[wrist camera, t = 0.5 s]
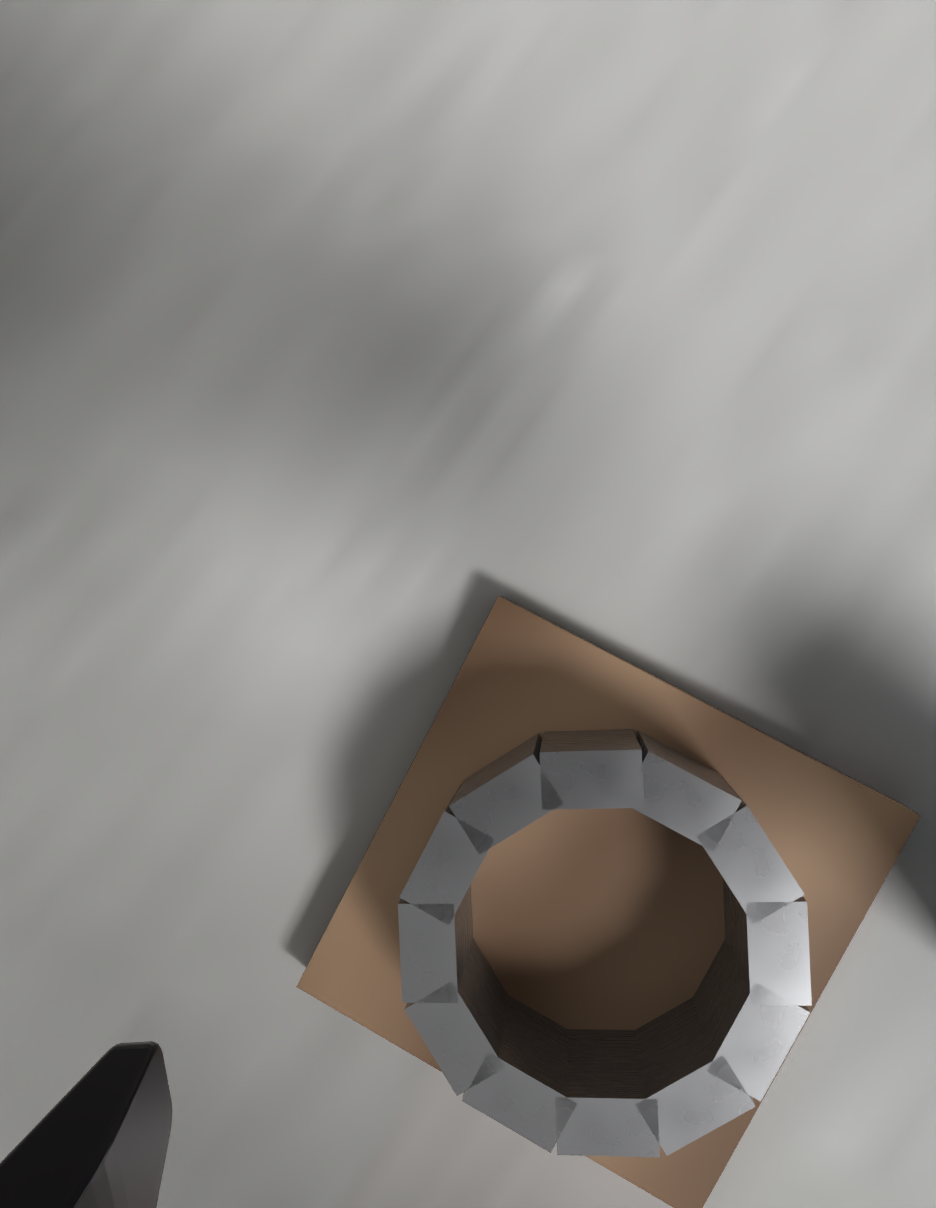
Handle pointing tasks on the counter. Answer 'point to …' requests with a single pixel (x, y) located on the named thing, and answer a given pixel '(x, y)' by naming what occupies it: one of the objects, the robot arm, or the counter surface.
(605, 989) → the base board
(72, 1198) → the robot arm
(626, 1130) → the collar
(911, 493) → the counter surface
